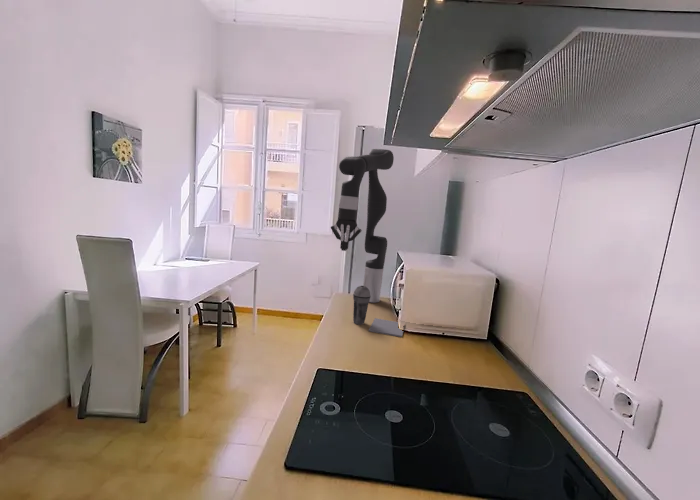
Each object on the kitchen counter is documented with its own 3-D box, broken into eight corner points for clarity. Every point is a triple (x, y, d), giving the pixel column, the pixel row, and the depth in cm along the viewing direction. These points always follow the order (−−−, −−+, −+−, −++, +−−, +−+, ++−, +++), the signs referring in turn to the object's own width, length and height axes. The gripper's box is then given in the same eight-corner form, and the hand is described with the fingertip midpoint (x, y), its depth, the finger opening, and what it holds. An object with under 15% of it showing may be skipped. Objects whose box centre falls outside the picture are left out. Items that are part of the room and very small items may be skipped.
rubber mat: (374, 319, 158) (375, 318, 158) (405, 324, 155) (405, 323, 155) (368, 331, 142) (368, 329, 142) (401, 337, 140) (402, 335, 140)
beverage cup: (347, 320, 153) (352, 273, 150) (362, 319, 156) (367, 273, 154) (354, 326, 147) (360, 277, 144) (370, 325, 150) (376, 277, 147)
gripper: (366, 209, 150) (361, 251, 152) (334, 206, 152) (330, 247, 155) (362, 209, 142) (357, 253, 145) (329, 206, 145) (325, 249, 147)
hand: (343, 250), depth 150 cm, fingers closed
